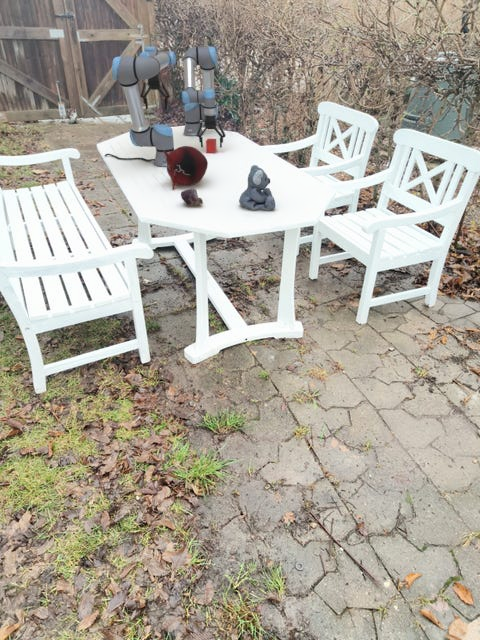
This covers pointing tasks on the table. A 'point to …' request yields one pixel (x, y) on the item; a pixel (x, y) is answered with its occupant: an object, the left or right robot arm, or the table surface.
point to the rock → (191, 197)
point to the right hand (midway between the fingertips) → (211, 147)
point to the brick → (211, 146)
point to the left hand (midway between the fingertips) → (156, 109)
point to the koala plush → (257, 191)
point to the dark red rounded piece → (186, 165)
